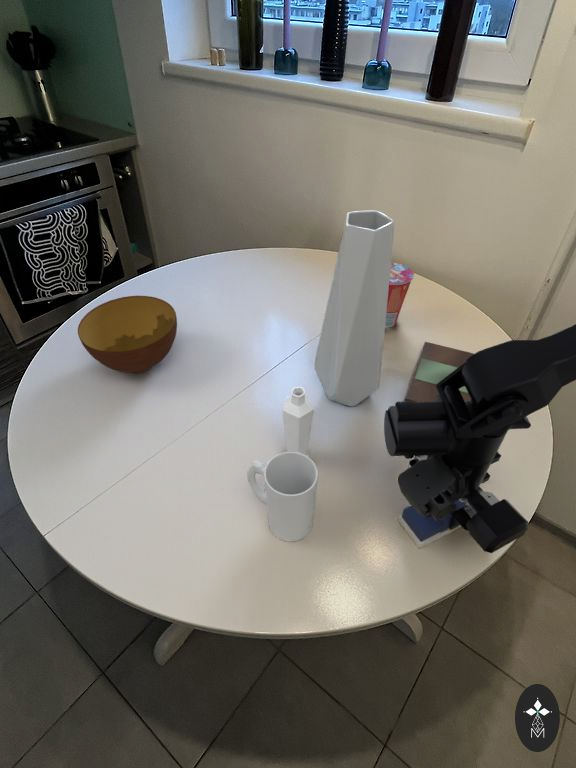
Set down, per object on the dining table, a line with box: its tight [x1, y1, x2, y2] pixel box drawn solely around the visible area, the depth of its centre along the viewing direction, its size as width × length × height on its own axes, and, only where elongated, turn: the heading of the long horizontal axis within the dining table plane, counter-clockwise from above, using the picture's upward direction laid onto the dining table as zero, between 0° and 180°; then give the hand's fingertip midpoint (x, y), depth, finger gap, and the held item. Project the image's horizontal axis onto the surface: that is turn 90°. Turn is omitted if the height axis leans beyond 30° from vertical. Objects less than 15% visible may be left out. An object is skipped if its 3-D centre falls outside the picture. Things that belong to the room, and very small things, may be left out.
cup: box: [385, 262, 415, 329], centre depth 96 cm, size 9×8×12 cm
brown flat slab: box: [403, 341, 475, 402], centre depth 86 cm, size 14×18×1 cm
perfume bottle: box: [281, 386, 315, 457], centre depth 68 cm, size 5×4×15 cm
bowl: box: [77, 295, 178, 374], centre depth 87 cm, size 18×18×10 cm
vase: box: [313, 209, 395, 407], centre depth 73 cm, size 12×12×33 cm
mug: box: [246, 451, 319, 543], centre depth 61 cm, size 10×7×12 cm, turn 62°
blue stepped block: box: [397, 500, 468, 550], centre depth 64 cm, size 11×5×5 cm, turn 116°
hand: (440, 513), depth 65 cm, fingers closed on blue stepped block, 4 cm apart
